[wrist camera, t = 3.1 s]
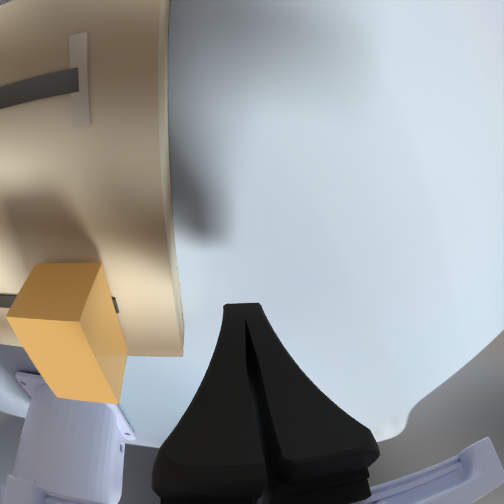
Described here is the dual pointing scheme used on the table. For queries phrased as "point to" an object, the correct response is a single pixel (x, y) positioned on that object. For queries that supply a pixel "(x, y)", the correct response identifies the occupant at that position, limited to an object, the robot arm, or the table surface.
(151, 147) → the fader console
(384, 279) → the table surface
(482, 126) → the table surface
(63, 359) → the amber fader knob
